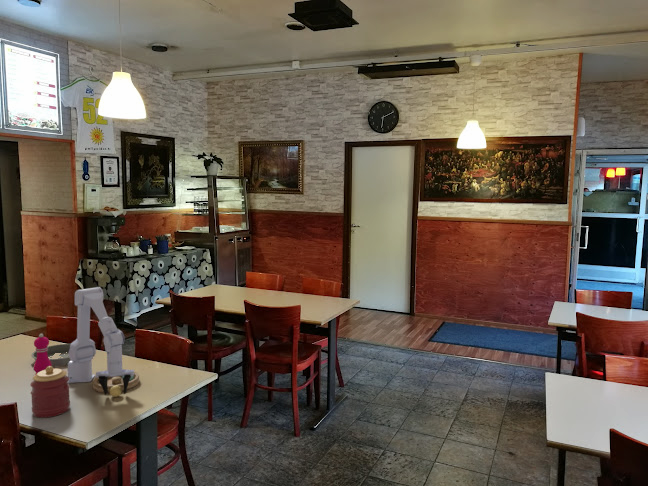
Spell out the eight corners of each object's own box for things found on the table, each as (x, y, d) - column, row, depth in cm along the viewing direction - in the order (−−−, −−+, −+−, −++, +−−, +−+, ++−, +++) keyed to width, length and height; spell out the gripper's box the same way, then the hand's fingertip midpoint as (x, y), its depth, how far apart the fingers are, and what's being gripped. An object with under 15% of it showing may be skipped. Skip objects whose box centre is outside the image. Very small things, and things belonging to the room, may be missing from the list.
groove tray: (87, 393, 206) (87, 387, 205) (100, 377, 224) (100, 371, 223) (133, 391, 208) (133, 385, 208) (142, 375, 227) (142, 369, 226)
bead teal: (121, 384, 214) (120, 374, 214) (124, 380, 219) (123, 370, 218) (132, 384, 215) (131, 374, 214) (134, 380, 219) (134, 370, 219)
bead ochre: (108, 399, 201) (108, 388, 200) (111, 394, 205) (111, 383, 205) (120, 398, 201) (120, 387, 201) (123, 393, 206) (122, 383, 205)
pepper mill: (55, 374, 227) (53, 331, 225) (45, 379, 220) (43, 336, 218) (41, 373, 228) (39, 331, 226) (30, 379, 221) (28, 335, 219)
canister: (61, 400, 199) (59, 358, 197) (76, 409, 190) (74, 365, 189) (26, 411, 189) (24, 366, 187) (40, 421, 180) (37, 375, 179)
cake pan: (20, 362, 242) (20, 353, 242) (67, 349, 264) (66, 340, 264) (52, 371, 231) (51, 362, 231) (97, 356, 253) (97, 348, 252)
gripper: (92, 365, 197) (94, 398, 198) (131, 363, 199) (132, 396, 200) (98, 359, 204) (99, 391, 205) (134, 357, 206) (135, 389, 207)
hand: (115, 393), depth 203 cm, fingers open, 7 cm apart
